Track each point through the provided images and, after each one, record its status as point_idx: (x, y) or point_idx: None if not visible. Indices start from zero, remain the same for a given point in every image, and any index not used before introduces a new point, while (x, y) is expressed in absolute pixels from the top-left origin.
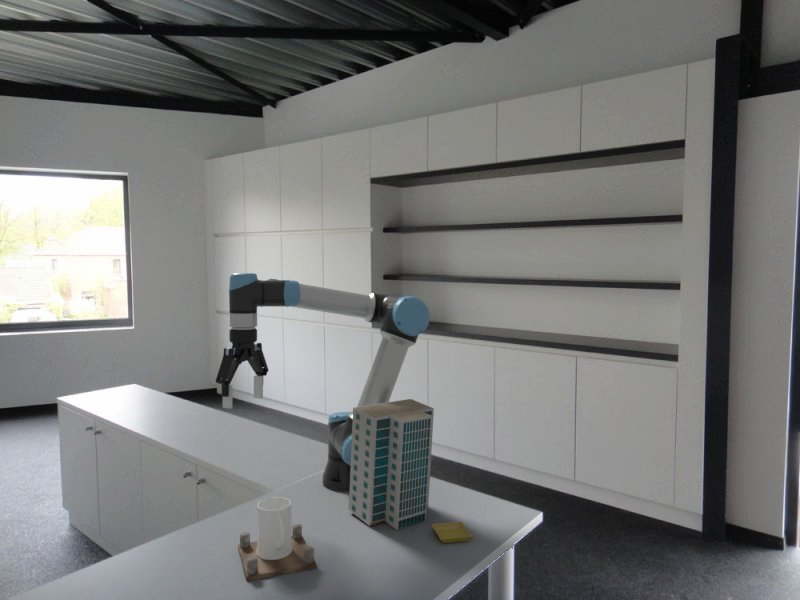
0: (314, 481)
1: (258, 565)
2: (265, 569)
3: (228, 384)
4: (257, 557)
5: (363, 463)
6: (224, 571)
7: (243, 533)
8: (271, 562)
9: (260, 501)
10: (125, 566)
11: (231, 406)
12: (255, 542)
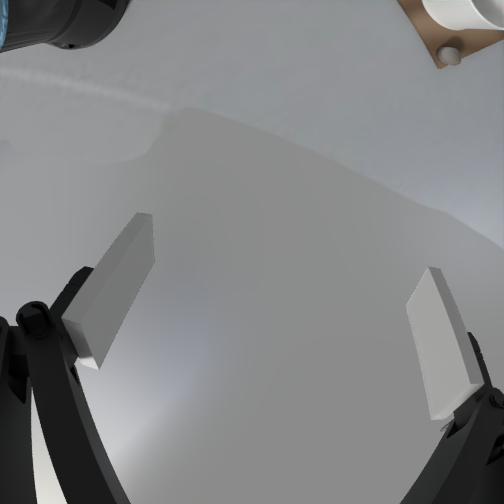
0: (99, 60)
1: None
2: None
3: (494, 391)
4: None
5: None
6: (498, 70)
7: (450, 60)
8: None
9: (495, 25)
10: (488, 211)
11: (438, 275)
12: (428, 40)
